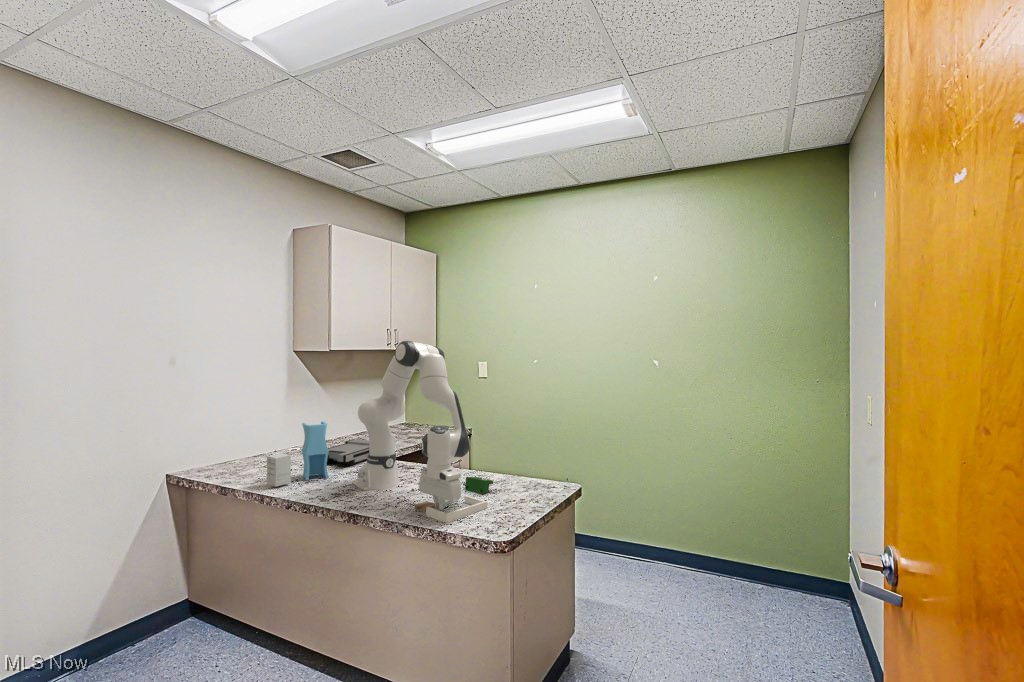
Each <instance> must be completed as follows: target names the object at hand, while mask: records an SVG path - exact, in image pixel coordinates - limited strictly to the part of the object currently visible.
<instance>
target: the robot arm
mask: <svg viewBox="0 0 1024 682" xmlns="http://www.w3.org/2000/svg"><path fill="white" fill-rule="evenodd" d="M415 370H419V384H420V385H419V387H420V392H421V394H422V396H423V397H424V398H425V399H426V400H427V401H430V402H431V403H434V404H437V405H440V406H441V407H445V408H446V409H447V410H448V411H449V413H450V415H451V419H452V424H453V428H454V430H453V431H450V429H449V428H448V427H447V426H443V425H435V426H432V427H430V428H429V429H428V433H426V434H425V435H423V436H422V438H421V443H422V447H421V454H422V455H424V456H425V457H426V458H427V462H426V465H427V466H426V467H423V468H422V469H421V470H420V476H419V484H418V489H419V492H420V493H422V494H425V495H429V496H432V500H433V503H435V509H436V510H439V511H442V510H444V508H445V507H444V506H445V505H444V503H445V501H446V500H448V501H451V502H454V503H456V502H455V501H457V502H458V501H460V499H461V497H462V484H461V481H460V478H461V476H462V475H461V472H460V471H459V470H458V469H456V468H455V467H454V466H452V460H451V458H463V457H465V456H466V455H467V454H468V453H469V452H470V449H471V441H470V437H469V435H468V432H467V428H466V425H465V420H464V415H463V411H462V407H461V404H460V400H459V398H458V395H457V392H455V391H453V390H452V388H451V387H450V384H449V380H448V378H449V377H448V369H447V365H446V361H445V353H444V351H443V349H441V348H439V347H438V346H435V345H434V346H433V345H431V344H428V343H424V342H417V341H411V340H403V341H401V342H399V343H398V345H397V346H396V348H395V351H394V355H393V357H392V359H391V360H390V362H389V364H388V366H387V368H386V371H385V372H384V374H383V375H384V376H383V377H382V380H381V383H380V384H381V387H382V395H380V397H379V398H373V399H369V400H366V401H364V402H362V403H361V404H360V405H359V407H358V409H357V416H358V419H359V421H360V422H361V423H362V424H363V425H364V426H365V429H366V431H367V435H368V441H369V455H368V456H367V455H366V456H367V457H368V458H367V457H366V458H367V461H366V463H365V464H364V465H363V466H362V467H360V468H359V469H358V473H357V478H356V479H354V480H352V484H353V485H355V486H356V487H358V488H359V489H360V490H363V491H375V490H376V491H383V490H384V491H385V490H389V489H393V488H396V487H397V486H399V483H400V482H401V479H400V478H399V467H398V463H396V462H397V452H396V436H395V433H393V432H392V431H391V430H390V429H391V428H390V427H389V422H392V421H393V422H394V421H395V420H397V419H399V418H401V417H402V416H403V415H404V414H405V413H406V412H405V411H406V404H405V402H404V399H405V398H404V397H405V393H406V391H407V388H408V385H409V384H410V381H411V379H412V376H413V374H415V373H414V372H415ZM439 500H440V502H439Z"/></svg>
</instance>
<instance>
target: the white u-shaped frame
mask: <svg viewBox="0 0 1024 682" xmlns="http://www.w3.org/2000/svg"><path fill="white" fill-rule="evenodd" d="M464 503H465V504H469V506H465V507H462V508H459V509H456V510H453V511H449V512H446V511H442V510H440V509H437V508H435V509H433V508H430V507H426V512H425V516H427V517H428V518H432V519H434V520H437V521H440V522H443V523H446V524H448V523H451V522H453V521H454V522H455V520H459V519H461V518H465V517H467V516H469V515H470V516H471V515H472V514H475V513H477V512H480V511H484V510H485V509H488V501H487V500H484V499H479V498H477V497H474V496H470V495H464Z"/></svg>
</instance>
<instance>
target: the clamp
mask: <svg viewBox="0 0 1024 682" xmlns="http://www.w3.org/2000/svg"><path fill="white" fill-rule="evenodd" d="M490 485H494V480H492V479H484V478H482V477H477V476H466V477H465V484H464V490H465V491H466V492H471V493H473V494H474V493H475V494H478V495H486V494H487V492H488V491H489V490H490Z"/></svg>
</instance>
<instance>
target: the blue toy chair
mask: <svg viewBox="0 0 1024 682" xmlns="http://www.w3.org/2000/svg"><path fill="white" fill-rule="evenodd" d="M301 425H302V427H303V433H304V441H303V446H302V449H301V453H302V457H303V473H302V477H303V478H304V479H305V481H309V478H310V476H314V475H315V476H316V475H323V476H324V478H325V479H326V478H329V474H328V469H327V468H328V467H327V458H328V454H329V451H328V448H329V447H328V444H327V441H326V433H327V427H328V423H327V422H325V421H320V424H319V423H317V424H307V423H305V422H302V423H301Z"/></svg>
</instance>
